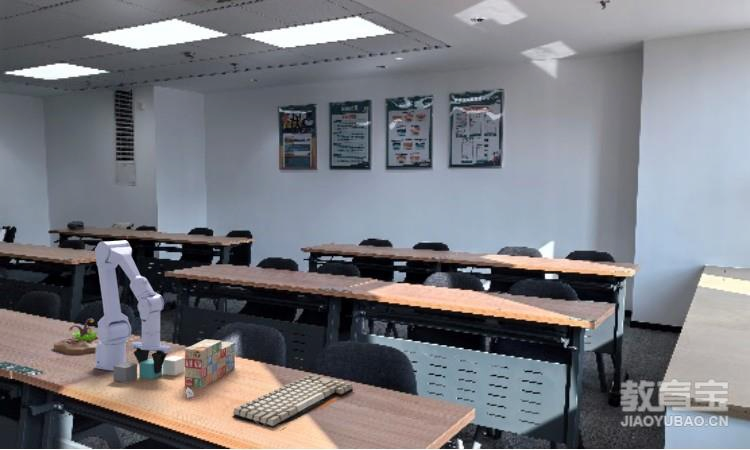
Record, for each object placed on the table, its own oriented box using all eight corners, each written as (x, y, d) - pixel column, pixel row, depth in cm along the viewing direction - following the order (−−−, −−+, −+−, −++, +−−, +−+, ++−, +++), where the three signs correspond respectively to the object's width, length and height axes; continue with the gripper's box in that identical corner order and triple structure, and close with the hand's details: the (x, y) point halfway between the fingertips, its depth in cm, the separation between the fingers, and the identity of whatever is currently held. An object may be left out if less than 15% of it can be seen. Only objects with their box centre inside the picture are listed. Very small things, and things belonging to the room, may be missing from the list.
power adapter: (184, 397, 171) (184, 387, 171) (192, 395, 173) (192, 385, 173) (187, 400, 169) (187, 390, 169) (196, 398, 171) (196, 388, 170)
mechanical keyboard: (281, 433, 148) (281, 421, 147) (227, 418, 157) (227, 406, 157) (356, 392, 181) (356, 381, 180) (307, 381, 190) (307, 371, 190)
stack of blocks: (219, 366, 201) (219, 332, 200) (235, 368, 200) (235, 334, 199) (184, 386, 180) (184, 348, 180) (201, 388, 179) (202, 349, 178)
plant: (124, 346, 225) (124, 318, 224) (75, 357, 208) (75, 327, 208) (95, 338, 235) (95, 312, 235) (47, 348, 219) (46, 320, 218)
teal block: (139, 377, 187) (139, 362, 187) (149, 373, 192) (149, 358, 192) (151, 379, 186) (151, 364, 185) (162, 374, 190) (162, 360, 190)
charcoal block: (113, 381, 183) (113, 366, 183) (124, 376, 188) (124, 361, 188) (125, 383, 182) (125, 368, 181) (137, 378, 186) (137, 363, 186)
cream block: (162, 374, 192) (162, 359, 191) (172, 369, 196) (172, 355, 196) (175, 375, 190) (175, 361, 190) (184, 371, 195) (184, 357, 194)
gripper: (124, 332, 187) (124, 372, 187) (160, 336, 182) (160, 378, 183) (139, 327, 193) (139, 366, 194) (175, 331, 189) (174, 371, 189)
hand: (150, 371), depth 189 cm, fingers closed on teal block, 5 cm apart
